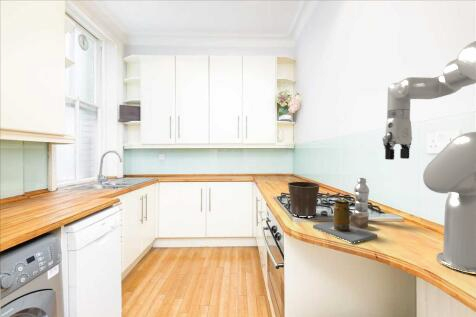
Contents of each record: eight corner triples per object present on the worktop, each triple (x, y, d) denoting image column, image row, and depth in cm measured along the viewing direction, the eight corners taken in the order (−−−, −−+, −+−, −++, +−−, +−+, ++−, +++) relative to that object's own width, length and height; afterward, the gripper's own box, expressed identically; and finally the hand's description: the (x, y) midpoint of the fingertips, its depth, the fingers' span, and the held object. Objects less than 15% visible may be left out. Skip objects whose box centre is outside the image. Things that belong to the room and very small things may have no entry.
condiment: (338, 225, 108) (338, 197, 107) (357, 230, 101) (358, 201, 101) (329, 229, 103) (329, 200, 103) (349, 234, 97) (349, 204, 96)
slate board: (377, 237, 97) (377, 234, 97) (352, 244, 91) (352, 241, 90) (336, 222, 115) (336, 220, 115) (313, 227, 108) (313, 225, 108)
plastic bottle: (353, 221, 116) (353, 179, 115) (353, 217, 122) (354, 177, 121) (368, 223, 113) (369, 179, 112) (368, 219, 119) (369, 178, 118)
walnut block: (367, 227, 109) (367, 216, 108) (359, 229, 106) (360, 217, 106) (357, 224, 113) (357, 213, 113) (350, 225, 111) (350, 214, 110)
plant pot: (326, 218, 122) (326, 185, 121) (296, 221, 118) (296, 187, 117) (309, 209, 138) (309, 180, 137) (282, 212, 134) (282, 182, 133)
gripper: (394, 113, 90) (393, 160, 91) (421, 115, 98) (420, 158, 99) (375, 115, 97) (374, 159, 98) (401, 117, 105) (400, 157, 106)
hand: (397, 158), depth 98 cm, fingers open, 9 cm apart
